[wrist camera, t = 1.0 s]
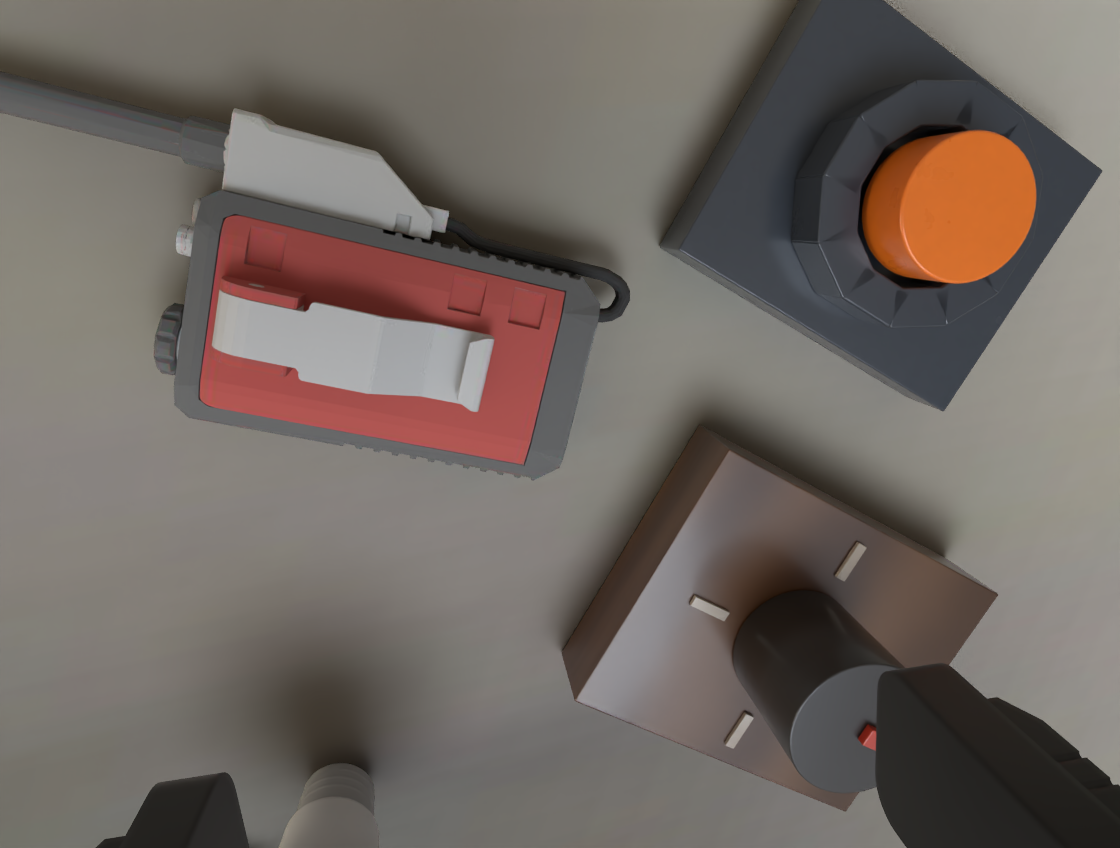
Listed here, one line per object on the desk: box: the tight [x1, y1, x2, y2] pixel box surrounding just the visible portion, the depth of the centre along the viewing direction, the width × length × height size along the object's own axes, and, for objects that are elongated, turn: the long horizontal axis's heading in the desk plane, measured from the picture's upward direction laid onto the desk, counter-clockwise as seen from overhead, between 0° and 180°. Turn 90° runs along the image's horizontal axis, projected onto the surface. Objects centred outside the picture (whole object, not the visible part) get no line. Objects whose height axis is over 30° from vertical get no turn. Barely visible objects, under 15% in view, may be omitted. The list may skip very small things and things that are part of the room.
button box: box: [660, 0, 1102, 411], centre depth 24 cm, size 11×9×4 cm
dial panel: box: [562, 425, 998, 811], centre depth 28 cm, size 12×10×3 cm
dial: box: [733, 590, 905, 793], centre depth 24 cm, size 4×4×5 cm
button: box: [862, 130, 1036, 284], centre depth 22 cm, size 4×4×2 cm
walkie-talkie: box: [0, 72, 630, 480], centre depth 22 cm, size 9×4×20 cm
